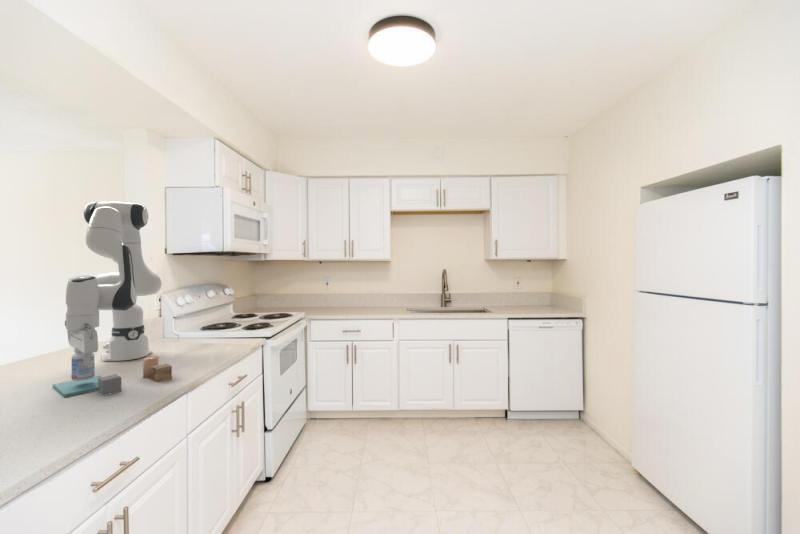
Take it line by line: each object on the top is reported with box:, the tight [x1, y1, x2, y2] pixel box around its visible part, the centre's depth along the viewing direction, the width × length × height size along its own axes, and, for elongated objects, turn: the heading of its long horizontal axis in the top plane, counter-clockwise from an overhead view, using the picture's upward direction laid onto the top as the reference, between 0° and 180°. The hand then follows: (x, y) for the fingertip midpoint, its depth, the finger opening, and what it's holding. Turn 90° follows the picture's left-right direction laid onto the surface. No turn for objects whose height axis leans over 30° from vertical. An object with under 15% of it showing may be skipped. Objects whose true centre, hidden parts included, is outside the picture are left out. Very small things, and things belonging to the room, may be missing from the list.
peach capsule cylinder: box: [142, 356, 160, 379], centre depth 140 cm, size 5×5×7 cm
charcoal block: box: [97, 373, 122, 396], centre depth 123 cm, size 5×5×5 cm
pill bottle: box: [71, 347, 96, 381], centre depth 128 cm, size 6×6×11 cm
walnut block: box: [150, 363, 173, 383], centre depth 137 cm, size 5×5×5 cm
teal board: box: [52, 374, 103, 398], centre depth 128 cm, size 16×13×1 cm
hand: (83, 362), depth 128 cm, fingers closed on pill bottle, 6 cm apart
